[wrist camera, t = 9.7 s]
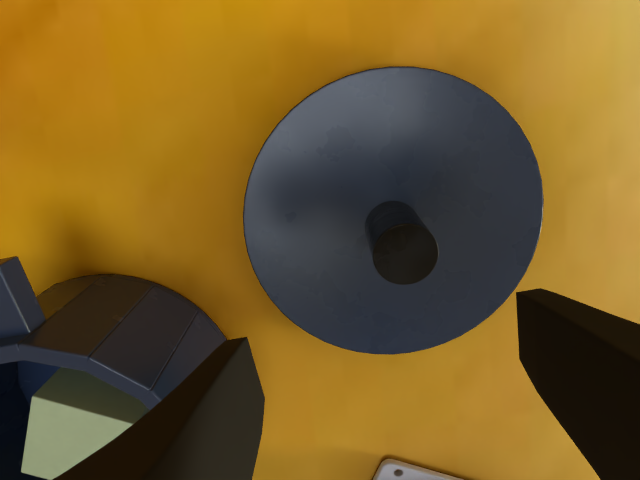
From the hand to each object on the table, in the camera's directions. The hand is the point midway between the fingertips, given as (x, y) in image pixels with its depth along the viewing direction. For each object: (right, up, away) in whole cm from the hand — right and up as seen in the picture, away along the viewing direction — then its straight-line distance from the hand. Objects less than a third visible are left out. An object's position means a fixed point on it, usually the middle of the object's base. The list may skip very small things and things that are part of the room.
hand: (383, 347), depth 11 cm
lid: (+1, +4, +8) cm, 9 cm away
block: (-12, -5, +11) cm, 17 cm away
